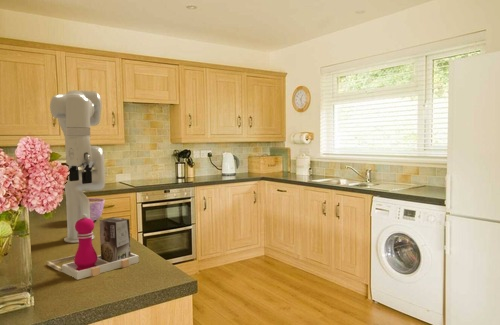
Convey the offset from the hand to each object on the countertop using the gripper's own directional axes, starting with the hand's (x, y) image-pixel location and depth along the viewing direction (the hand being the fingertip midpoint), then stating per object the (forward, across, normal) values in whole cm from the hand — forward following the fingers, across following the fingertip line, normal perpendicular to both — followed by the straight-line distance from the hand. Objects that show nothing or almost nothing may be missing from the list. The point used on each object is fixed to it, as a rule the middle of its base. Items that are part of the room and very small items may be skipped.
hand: (80, 182), depth 131 cm
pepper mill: (+30, +6, -2) cm, 31 cm away
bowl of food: (+33, -74, +36) cm, 89 cm away
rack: (+30, +6, +4) cm, 31 cm away
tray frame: (+30, -6, -2) cm, 31 cm away
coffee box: (+31, +6, +9) cm, 32 cm away
